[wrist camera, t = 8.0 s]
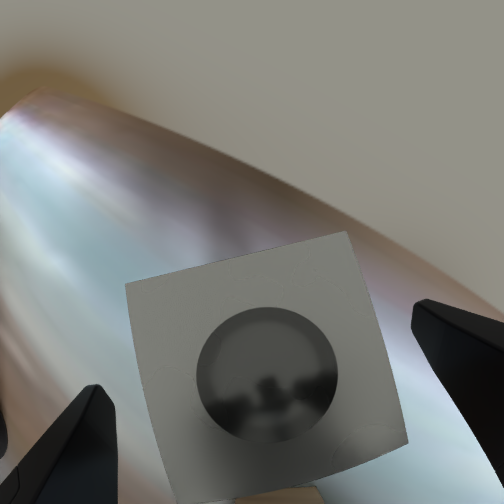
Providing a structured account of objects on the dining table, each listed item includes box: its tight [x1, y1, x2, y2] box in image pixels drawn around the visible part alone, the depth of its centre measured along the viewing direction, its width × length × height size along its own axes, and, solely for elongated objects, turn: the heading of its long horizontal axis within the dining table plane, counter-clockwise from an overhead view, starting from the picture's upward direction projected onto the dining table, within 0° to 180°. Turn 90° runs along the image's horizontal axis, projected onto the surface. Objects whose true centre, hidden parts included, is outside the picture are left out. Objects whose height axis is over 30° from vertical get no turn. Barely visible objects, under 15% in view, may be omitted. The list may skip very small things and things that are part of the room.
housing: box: [125, 231, 408, 504], centre depth 10 cm, size 5×5×12 cm
